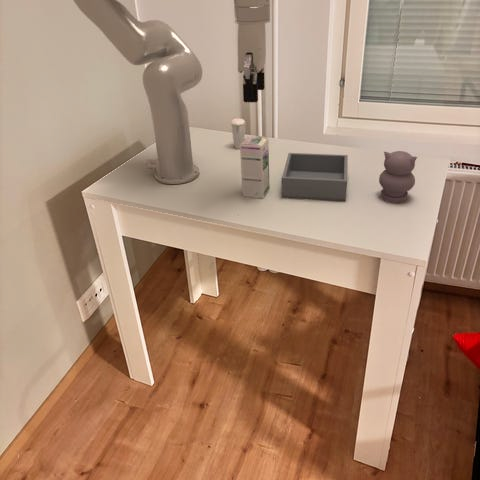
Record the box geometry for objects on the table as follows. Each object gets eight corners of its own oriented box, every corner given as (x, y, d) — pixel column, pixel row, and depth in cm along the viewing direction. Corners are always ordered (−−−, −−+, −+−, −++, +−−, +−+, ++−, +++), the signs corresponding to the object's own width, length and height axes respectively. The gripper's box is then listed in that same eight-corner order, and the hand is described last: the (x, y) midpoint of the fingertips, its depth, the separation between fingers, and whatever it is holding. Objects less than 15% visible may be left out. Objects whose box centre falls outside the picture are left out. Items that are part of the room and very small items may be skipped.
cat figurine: (414, 193, 119) (422, 148, 113) (409, 207, 113) (417, 161, 107) (380, 187, 123) (386, 143, 116) (373, 200, 117) (379, 155, 110)
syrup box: (263, 199, 120) (263, 145, 112) (241, 196, 121) (239, 143, 113) (269, 189, 124) (269, 136, 116) (248, 186, 126) (246, 134, 118)
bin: (281, 197, 120) (281, 177, 117) (288, 171, 133) (288, 152, 130) (345, 201, 117) (347, 181, 114) (345, 173, 130) (347, 155, 127)
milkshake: (243, 151, 146) (242, 120, 141) (229, 148, 149) (227, 117, 143) (251, 146, 149) (250, 115, 144) (237, 143, 152) (235, 113, 146)
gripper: (242, 9, 107) (245, 85, 116) (226, 21, 93) (230, 106, 102) (275, 8, 106) (275, 85, 115) (263, 20, 92) (264, 107, 101)
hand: (254, 95), depth 109 cm, fingers open, 9 cm apart
